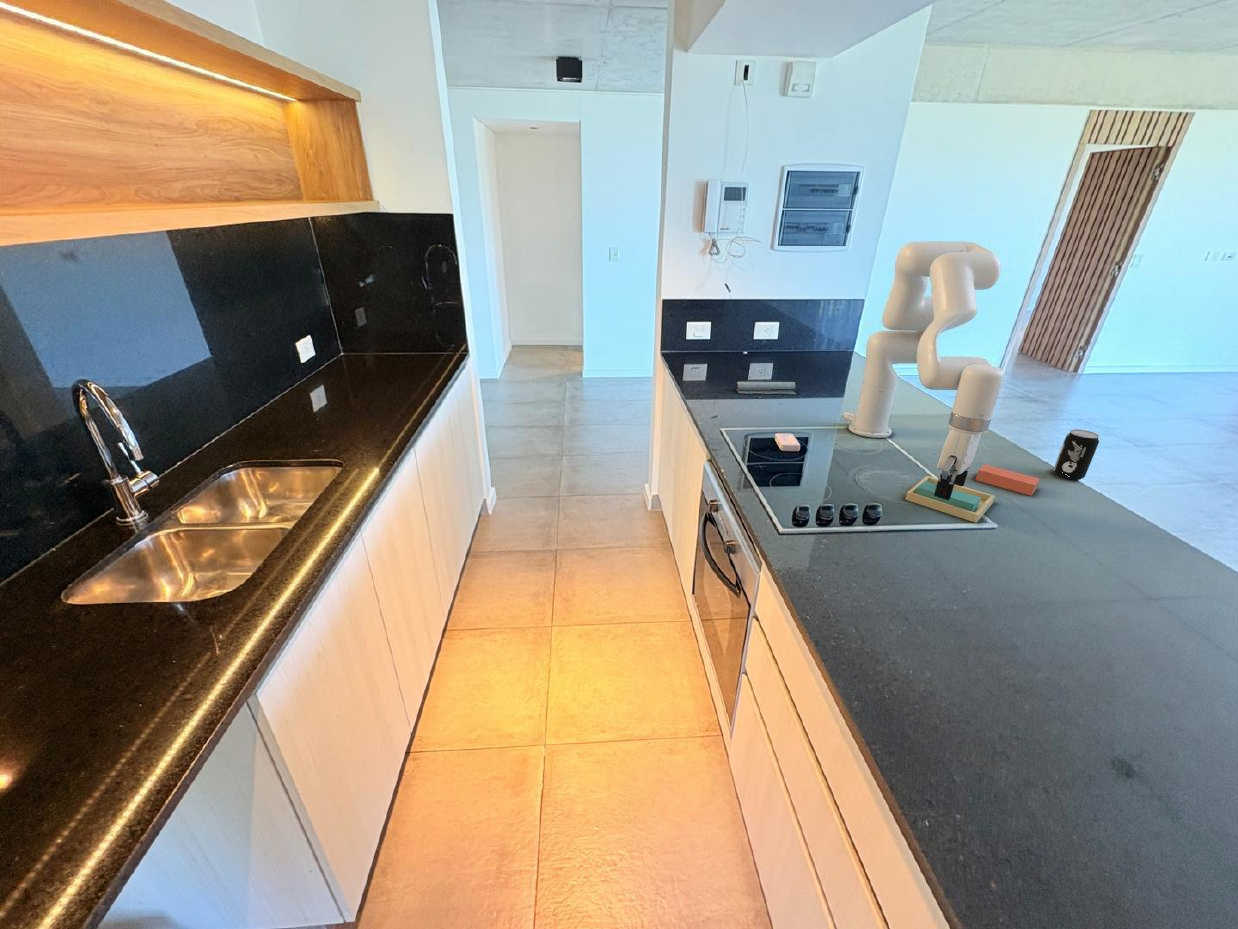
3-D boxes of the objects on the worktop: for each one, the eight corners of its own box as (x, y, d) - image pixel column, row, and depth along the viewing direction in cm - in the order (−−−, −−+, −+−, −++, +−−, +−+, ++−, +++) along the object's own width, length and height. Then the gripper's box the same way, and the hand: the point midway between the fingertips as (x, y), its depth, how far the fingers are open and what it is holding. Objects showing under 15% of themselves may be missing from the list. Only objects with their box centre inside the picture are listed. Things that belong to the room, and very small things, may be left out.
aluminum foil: (792, 389, 211) (793, 380, 209) (797, 394, 204) (798, 385, 203) (735, 388, 211) (736, 380, 210) (738, 393, 205) (739, 385, 204)
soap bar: (781, 451, 154) (782, 444, 153) (774, 440, 162) (775, 432, 161) (799, 452, 154) (800, 444, 153) (792, 440, 162) (793, 432, 161)
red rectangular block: (975, 480, 137) (978, 469, 135) (981, 474, 140) (984, 464, 139) (1031, 496, 129) (1035, 485, 127) (1035, 489, 132) (1039, 478, 131)
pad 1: (914, 498, 127) (917, 487, 126) (922, 491, 130) (924, 480, 129) (970, 516, 119) (974, 504, 118) (977, 508, 122) (981, 497, 121)
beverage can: (1089, 482, 135) (1107, 438, 130) (1060, 480, 137) (1077, 437, 132) (1074, 471, 141) (1091, 429, 136) (1047, 469, 142) (1062, 427, 137)
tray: (905, 499, 127) (907, 492, 126) (924, 482, 135) (926, 475, 135) (976, 523, 117) (978, 515, 116) (992, 503, 125) (995, 495, 125)
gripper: (962, 409, 124) (943, 474, 131) (936, 427, 113) (918, 497, 120) (999, 416, 119) (978, 484, 126) (976, 436, 108) (954, 509, 115)
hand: (948, 490), depth 123 cm, fingers open, 9 cm apart
